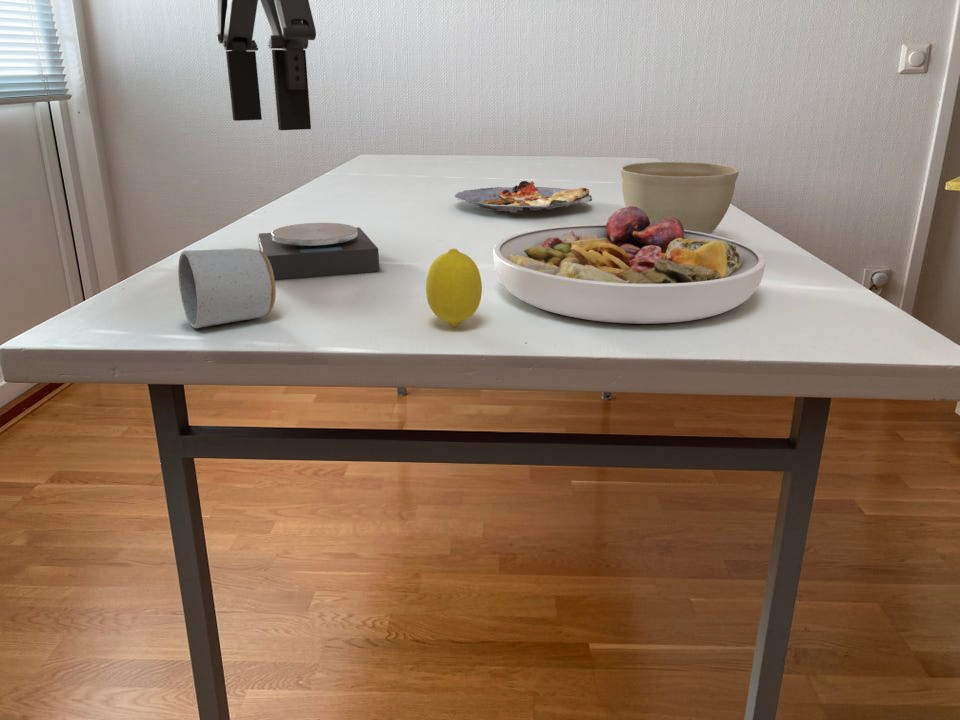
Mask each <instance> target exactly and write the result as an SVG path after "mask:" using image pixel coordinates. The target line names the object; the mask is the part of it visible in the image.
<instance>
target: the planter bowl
mask: <svg viewBox="0 0 960 720" xmlns="http://www.w3.org/2000/svg"><path fill="white" fill-rule="evenodd" d="M739 171H740V170H739V169H738V168H737V167H734V166H731V165H726V164H721V163H712V162H698V161H697V162H696V161H648V162H647V161H646V162H636V163H629V164H626V165H623V166H622V167H621V168H620V174H621V179H622V181H621V182H622V184H621V185H622V187H621V188H622V196H623V197H622V198H623V201H624V205H625V208H626V207H629V206H633V207H637V208H640V209H641V210H643V211H644V212H645V213H646V215H647V216H648V218H649V221H650V225H651V224H653V223H655V222H656V221H658V220H660V219H662V218H665V217H674V218H677V219H678V220H680V222H681V224H682V225H683V228H684V230H689V231H695V232H701V233H706V234H711V235H712V233H713V232H714V231H715V230H716V229H717V227H718V226H719V225H720V223H721V222H722V221H723V219H724V217H725V216H726V214H727V212H728V210H729V208H730V206H731V203H732V200H733V197H734V193H735V188H736V182H737V179H738V176H739Z"/></svg>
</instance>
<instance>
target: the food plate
mask: <svg viewBox="0 0 960 720" xmlns="http://www.w3.org/2000/svg"><path fill="white" fill-rule="evenodd" d="M454 197H455V198H456V199H457V200H458V201H462V202H466V203H470V204H473V205H476V206H477V207H478V208H481V209H485V210H489V211H495V212H506V213H507V212H509V213H511V214H514V213H518V211H524V209H529V211H539V210H540V211H546V210H554V209H556V208H559V207H560V208H562V207H563V208H566V209H568V208H569V206H571V207H572V206H574V205H579V204H581V203H588V202H592V201H593V196H592V194H590V189H589V188H586V187H579V188H575V189H569V188H560V187H545V186H544V187H543V186H536V185H535V182H534V181H533V180H532V181H530V182H529V181H527V180H522V181H521V180H520V182H519V183H518V185H514V186H510V187H509V186H508V187H507V186H506V187H502V186H497V187H496V186H494V187H493V186H492V187H481V188H474V189H467V190H462V191H459V192H457V193H455V194H454Z"/></svg>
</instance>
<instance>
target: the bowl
mask: <svg viewBox="0 0 960 720" xmlns="http://www.w3.org/2000/svg"><path fill="white" fill-rule="evenodd" d="M492 253H493V267H494V270H495V273H496V276H497V278H498V279H499V281H500V282H501V284H502V285H503V286H504V288H505V289H506V290H507V291H508V292H510V294H512V295H513V296H515V297H516V298H517V299H518V300H520V301H523V302H524V303H527V304H528V305H531V306H532V307H535V308H537V309H541V310H543V311H546V312H550V313H554V314H557V315H561V316H566V317H570V318H574V319H575V318H576V319H581V320H588V321H593V322H603V323H613V324H632V325H633V324H634V325H635V324H636V325H637V324H638V325H640V324H641V325H649V324H650V325H651V324H652V325H655V324H672V323H683V322H689V321H690V322H691V321H696V320H702V319H706V318H711V317H715V316H717V315H720V314H721V315H722V314H723V313H726V312H728V311H731V310H733V309H735V308H736V307H739V306H740V305H742V304H743V303H745V302H746V301H747V300H749V298H751V297H752V296H753V294H755V292H756V291H757V290H758V288H759V286H760V284H761V283H762V280H763V277H764V274H765V268H766V258H765V256H764V255H763V254H762V253H761V252H760V251H759V250H758V249H756V248H754V247H753V246H751V245H748V244H745V243H743V242H740V241H738V240H735V239H731V238H728V237H725V236H720V235H715V234H712V233H711V234H706V233H701V232H695V231H689V230H684V228H683V225H682V224H681V222H680V220H678V219H677V218H674V217H665V218H662V219H660V220H658V221H656V222H655V223H653V224H651V225H650V221H649V218H648V216H647V215H646V213H645V212H644V211H643V210H641V209H640V208H637V207H633V206H629V207H626V206H625V207H621V208H619V209H618V210H616V211H614V212H613V213H612V214H611V215H610V216H609V218H608V220H607V222H606V224H576V225H563V226H561V225H560V226H552V227H544V228H539V229H532V230H528V231H523V232H519V233H515V234H512V235H510V236H507V237H505V238H503V239H501V240H500V241H498V242H497V243H496V244H495V245H494V247H493V252H492Z"/></svg>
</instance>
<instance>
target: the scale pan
mask: <svg viewBox="0 0 960 720" xmlns="http://www.w3.org/2000/svg"><path fill="white" fill-rule="evenodd" d="M357 228H358V227H356V226H353V225H350V224H346V223H338V222H308V223H307V222H305V223H297V224H296V223H295V224H289V225H285V226H280V227H278V228H276V229H273V230H272V231H271V233H272V240H273V241H274V242H277V243H280V244H285V245H293V246H321V245H331V244H338V243H343V242H347V241H350V240H353V239H355V238H356V237H357V235H358V232H357Z"/></svg>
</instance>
